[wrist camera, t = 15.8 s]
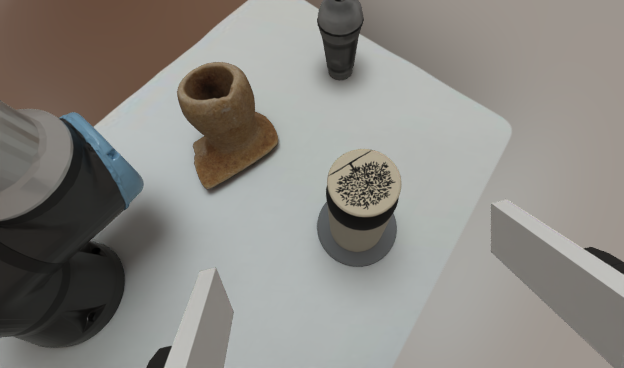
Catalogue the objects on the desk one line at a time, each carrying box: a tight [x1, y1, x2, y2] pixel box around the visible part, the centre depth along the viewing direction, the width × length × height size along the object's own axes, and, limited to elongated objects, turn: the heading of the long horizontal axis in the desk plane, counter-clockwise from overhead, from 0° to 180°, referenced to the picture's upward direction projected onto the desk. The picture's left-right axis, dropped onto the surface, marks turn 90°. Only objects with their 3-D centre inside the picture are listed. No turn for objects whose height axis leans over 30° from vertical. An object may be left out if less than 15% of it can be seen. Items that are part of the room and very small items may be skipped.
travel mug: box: [326, 149, 401, 252], centre depth 41 cm, size 8×8×18 cm
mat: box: [317, 202, 397, 266], centre depth 50 cm, size 12×12×1 cm
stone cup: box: [177, 62, 278, 189], centre depth 51 cm, size 15×12×15 cm
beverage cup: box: [317, 0, 364, 80], centre depth 53 cm, size 7×7×20 cm
